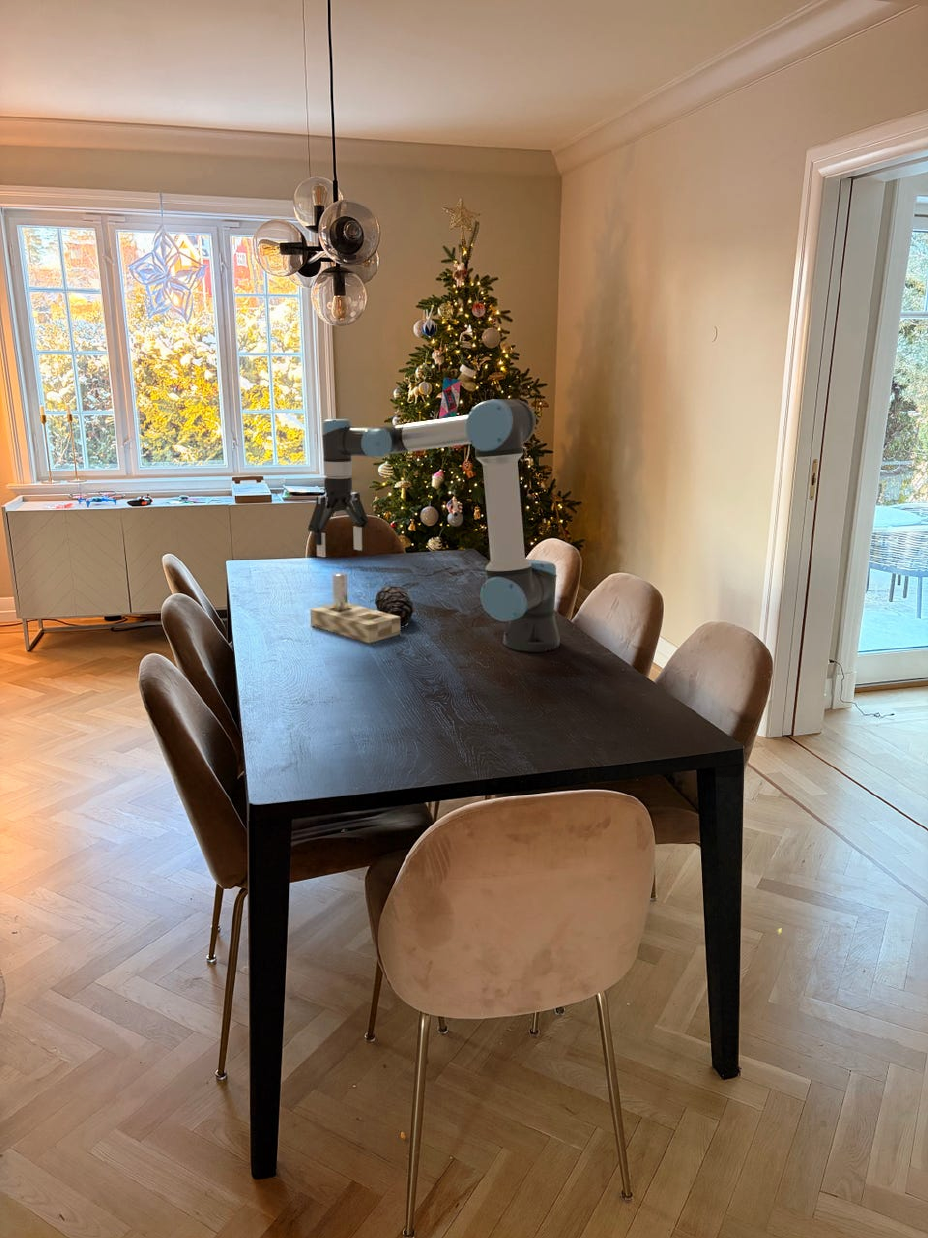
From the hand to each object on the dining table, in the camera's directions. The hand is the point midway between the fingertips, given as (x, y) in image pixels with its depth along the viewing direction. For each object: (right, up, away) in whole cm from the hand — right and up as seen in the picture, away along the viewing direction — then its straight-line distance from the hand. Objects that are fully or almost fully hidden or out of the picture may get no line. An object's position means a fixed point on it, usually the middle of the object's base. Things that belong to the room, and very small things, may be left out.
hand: (340, 553), depth 250 cm
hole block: (+4, -22, +2) cm, 22 cm away
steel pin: (0, -19, +5) cm, 20 cm away
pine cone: (+15, -19, +12) cm, 27 cm away
